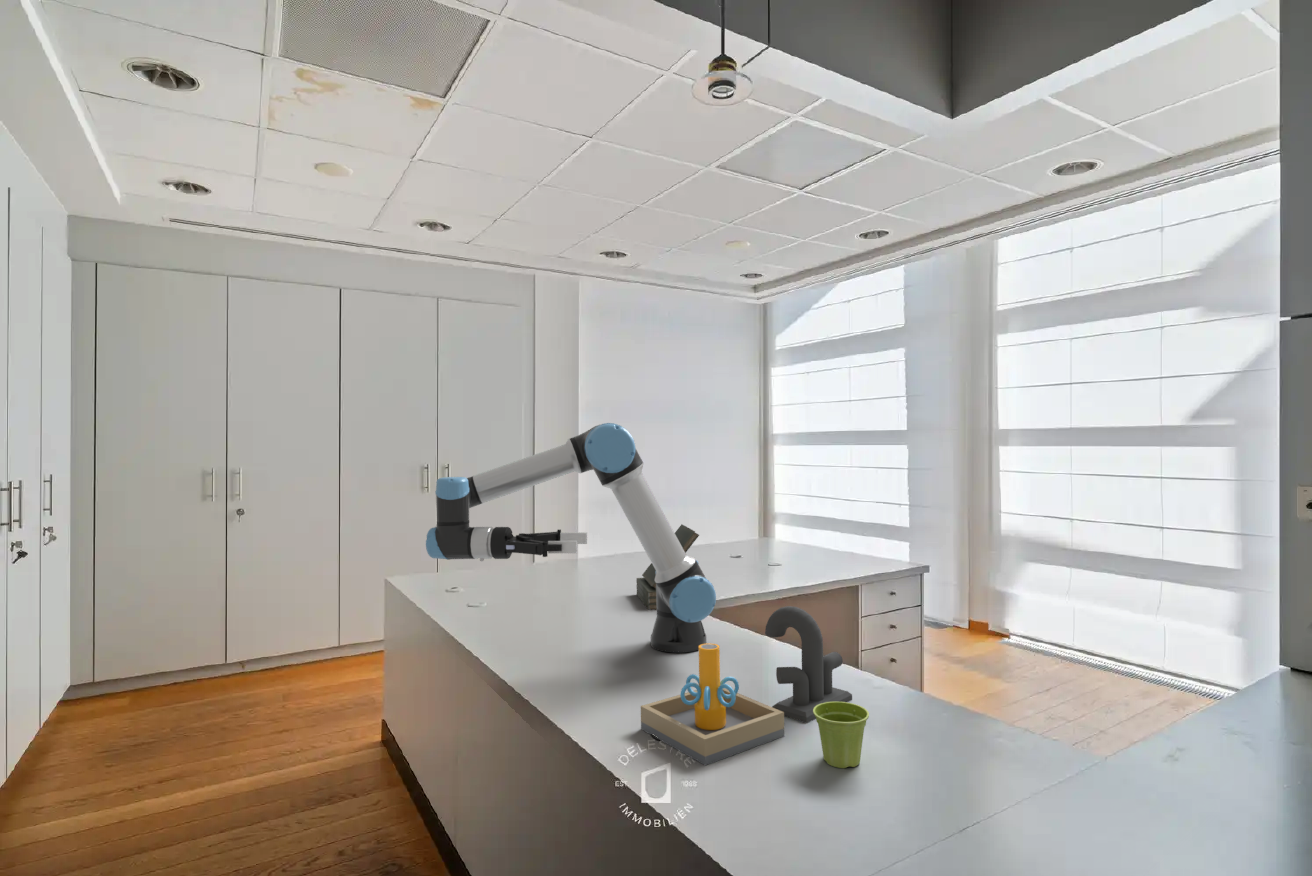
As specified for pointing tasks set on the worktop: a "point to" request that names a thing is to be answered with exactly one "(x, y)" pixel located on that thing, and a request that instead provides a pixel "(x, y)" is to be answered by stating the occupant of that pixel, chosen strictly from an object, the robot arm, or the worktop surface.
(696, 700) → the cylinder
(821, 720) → the plant pot
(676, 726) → the tan and grey tray
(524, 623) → the worktop surface
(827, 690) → the faucet
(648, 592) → the grey slanted block structure
